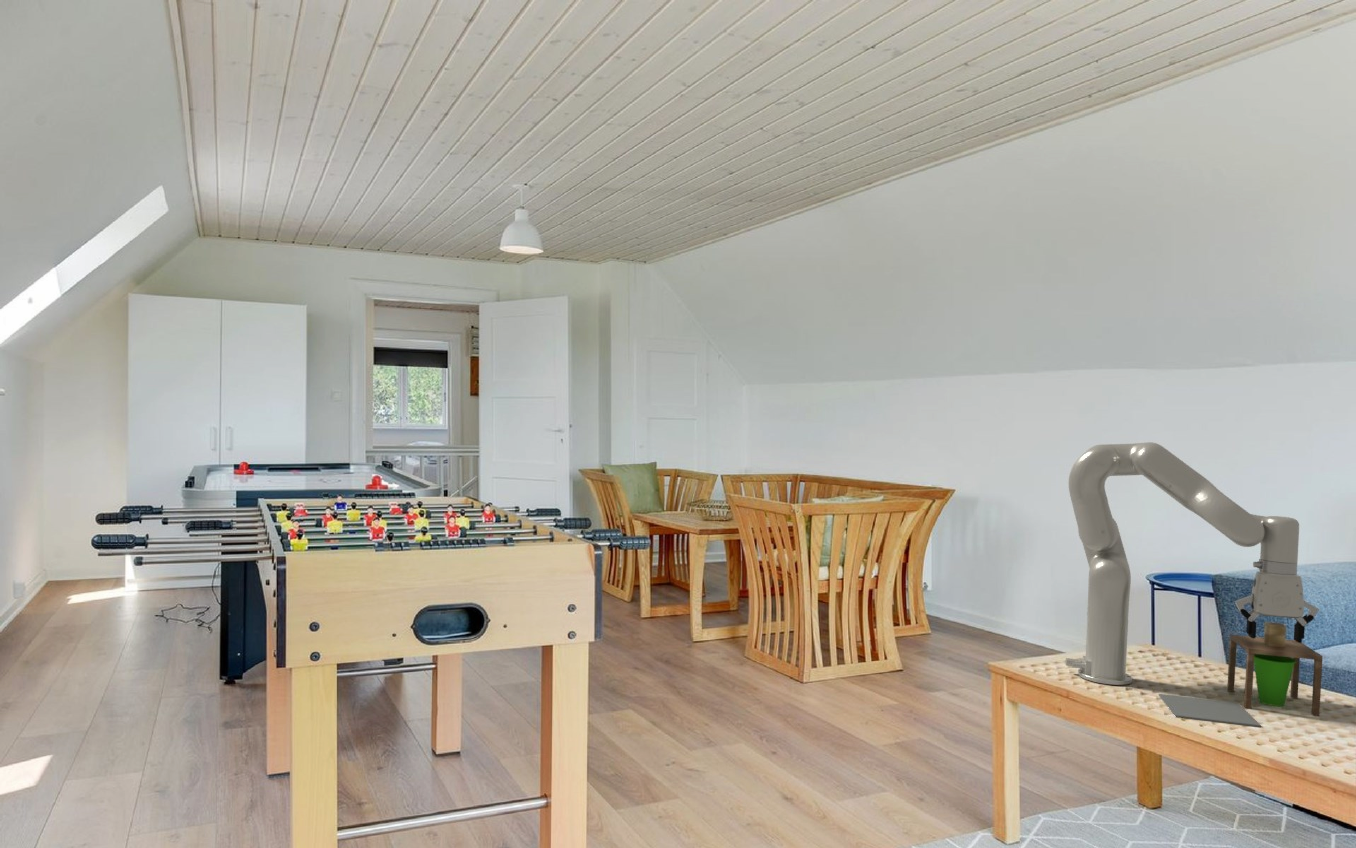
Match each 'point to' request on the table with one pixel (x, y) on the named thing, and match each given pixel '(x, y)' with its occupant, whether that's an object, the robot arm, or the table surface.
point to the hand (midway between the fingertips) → (1274, 639)
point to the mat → (1208, 710)
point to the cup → (1273, 677)
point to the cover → (1276, 647)
